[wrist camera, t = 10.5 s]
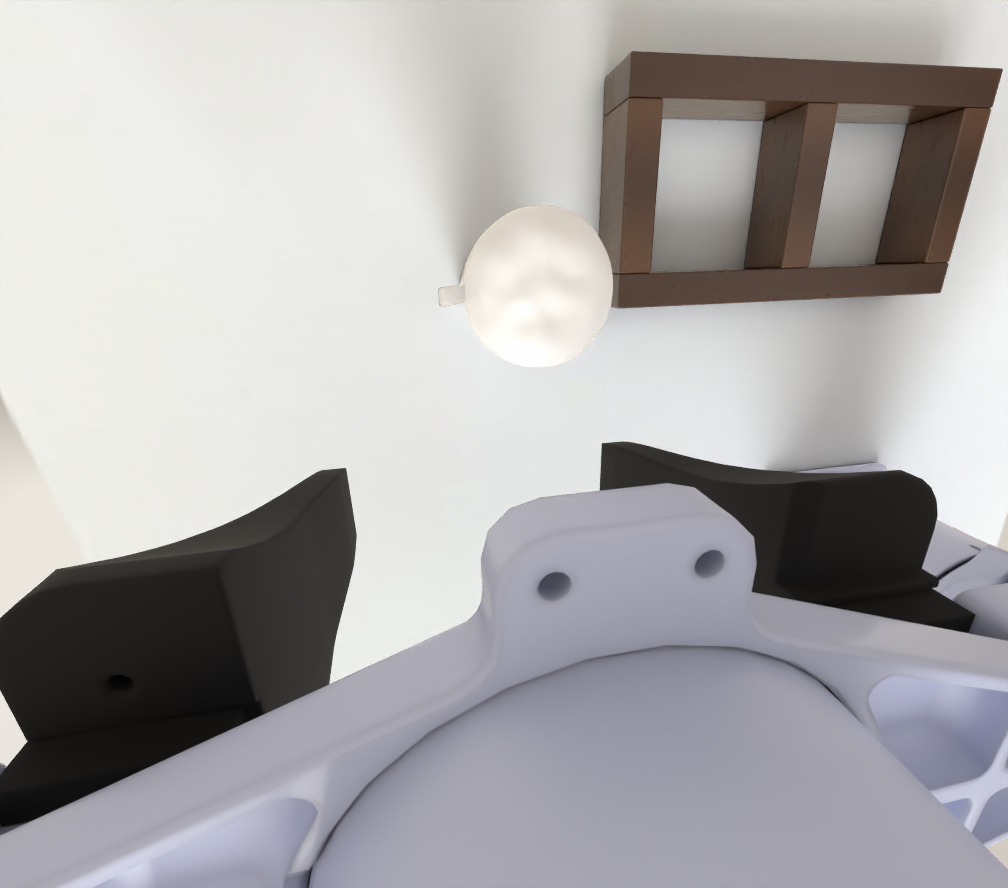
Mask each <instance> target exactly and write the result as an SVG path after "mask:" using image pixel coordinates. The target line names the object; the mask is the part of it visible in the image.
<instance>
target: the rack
mask: <svg viewBox="0 0 1008 888" xmlns="http://www.w3.org/2000/svg"><path fill="white" fill-rule="evenodd" d="M1002 71H1003V69H1000V68H978V67H957V66H936V65H914V64H893V63H872V62H850V61H829V60H808V59H786V58H765V57H744V56H722V55H701V54H680V53H658V52H637V51H632V52H631V53H630V54H629V55H628V56H627V57H626V58H625V59H624V60H623V61H622V62H621V63H620V64H619V65H618V66H617V67H616V68H615V69H614V70H613V71H612V72H611V73H610V74H609V75H608V76H607V77H606V78H605V93H604V117H605V118H604V123H603V150H602V177H601V204H600V231H599V238H600V239H601V241H602V243H603V245H604V247H605V249H606V251H607V254H608V256H609V259H610V263H611V268H612V275H613V294H612V302H611V307H614V308H640V307H661V306H682V305H704V304H725V303H746V302H767V301H788V300H809V299H831V298H852V297H873V296H894V295H915V294H937V293H940V292H941V289H942V286H943V282H944V279H945V275H946V271H947V268H948V263H946V262H949V260H950V257H951V253H952V249H953V246H954V242H955V239H956V235H957V231H958V228H959V224H960V221H961V217H962V213H963V210H964V206H965V203H966V199H967V195H968V192H969V188H970V185H971V181H972V177H973V174H974V170H975V167H976V163H977V159H978V156H979V152H980V149H981V145H982V141H983V138H984V134H985V131H986V127H987V123H988V120H989V116H990V113H991V109H990V108H991V107H992V106H993V103H994V100H995V96H996V92H997V89H998V85H999V82H1000V78H1001V74H1002ZM662 119H703V120H747V121H765V122H764V128H763V135H762V142H761V149H760V157H759V164H758V171H757V178H756V186H755V193H754V200H753V207H752V215H751V222H750V229H749V236H748V244H747V251H746V258H745V265H744V268H745V269H722V270H693V271H663V272H650V271H651V259H652V246H653V232H654V218H655V205H656V191H657V178H658V164H659V150H660V137H661V123H662ZM835 122H836V123H881V124H909V125H908V126H907V130H906V134H905V139H904V143H903V147H902V152H901V156H900V160H899V165H898V169H897V174H896V178H895V182H894V187H893V191H892V196H891V200H890V204H889V209H888V213H887V217H886V222H885V226H884V231H883V235H882V239H881V244H880V248H879V253H878V257H877V261H876V263H877V264H868V265H839V266H809V262H810V257H811V251H812V246H813V240H814V235H815V229H816V224H817V218H818V213H819V208H820V202H821V197H822V191H823V186H824V180H825V175H826V169H827V164H828V158H829V153H830V147H831V142H832V136H833V131H834V125H835ZM808 266H809V267H808Z"/></svg>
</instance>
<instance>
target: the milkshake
mask: <svg viewBox="0 0 1008 888" xmlns="http://www.w3.org/2000/svg"><path fill="white" fill-rule="evenodd" d="M438 292H439V305H440V307H444V306H449V305H454V304H458V303H463V302H464V304H465V309H466V313H467V316H468V319H469V322H470V324H471V326H472V328H473V330H474V332H475V334H476V335H477V337H478V338H479V339H480V341H481V342H482V343H483V344H484V345H485V346H486V347H487V348H488V349H489V350H490V351H492V352H493V353H494V354H495V355H497V356H498V357H500V358H502V359H503V360H505V361H507V362H510V363H512V364H515V365H519V366H524V367H551V366H556V365H559V364H563V363H565V362H568V361H570V360H572V359H574V358H575V357H577V356H579V355H580V354H581V353H582V352H584V351H585V350H586V349H587V347H588V346H589V345H590V344H591V342H592V341H593V340H594V338H595V337H596V335H597V334H598V332H599V331H600V329H601V328H602V326H603V325H604V323H605V321H606V319H607V317H608V315H609V312H610V308H611V302H612V294H613V275H612V268H611V263H610V259H609V256H608V254H607V251H606V249H605V247H604V245H603V243H602V241H601V239H600V238H599V236H598V234H597V233H596V231H595V230H594V229H593V227H592V226H591V225H590V224H589V223H588V222H587V221H586V220H585V219H583V218H582V217H580V216H579V215H577V214H576V213H574V212H571V211H569V210H566V209H563V208H559V207H553V206H526V207H521V208H518V209H515V210H513V211H511V212H509V213H507V214H506V215H504V216H503V217H501V218H500V219H498V220H497V221H496V222H495V223H493V224H492V225H491V226H490V227H489V228H488V229H487V230H486V231H485V232H484V233H483V234H482V235H481V236H480V238H479V239H478V240H477V242H476V243H475V245H474V247H473V249H472V251H471V253H470V255H469V258H468V259H467V260H466V262H465V265H464V269H463V273H462V277H461V281H460V284H459V285H457V286H448V287H440V288H439V290H438Z"/></svg>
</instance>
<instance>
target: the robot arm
mask: <svg viewBox="0 0 1008 888" xmlns="http://www.w3.org/2000/svg"><path fill="white" fill-rule="evenodd" d="M356 537H357V534H356V528H355V522H354V515H353V509H352V503H351V497H350V490H349V484H348V478H347V471H346V468H341V469H331V470H322V471H319V472H317V473H315V474H313V475H311V476H310V477H308V478H307V479H305V480H303V481H302V482H300V483H299V484H297V485H296V486H294V487H293V488H291V489H289V490H288V491H286V492H285V493H283V494H282V495H280V496H278V497H277V498H275V499H273V500H271V501H270V502H268V503H266V504H264V505H263V506H261V507H259V508H258V509H256V510H254V511H252V512H250V513H248V514H246V515H244V516H242V517H240V518H238V519H236V520H233V521H231V522H229V523H227V524H225V525H222V526H220V527H217V528H215V529H212V530H209V531H207V532H204V533H201V534H198V535H195V536H193V537H190V538H187V539H184V540H182V541H178V542H175V543H172V544H169V545H165V546H162V547H158V548H155V549H151V550H147V551H143V552H139V553H135V554H131V555H127V556H123V557H119V558H114V559H108V560H103V561H98V562H93V563H88V564H83V565H78V566H73V567H67V568H61V569H57V570H55V571H54V572H53V573H52V574H50V576H48V577H47V578H46V579H45V580H44V581H43V582H41V583H40V584H39V585H38V586H37V587H35V588H34V589H33V590H32V591H31V592H30V593H28V594H27V595H26V596H25V597H24V598H22V599H21V600H20V601H19V602H18V603H16V604H15V605H14V606H13V607H12V608H11V609H10V610H9V611H8V612H7V613H5V614H4V615H3V616H2V617H1V618H0V691H1V692H2V694H3V696H4V698H5V700H6V702H7V704H8V706H9V708H10V709H11V711H12V713H13V715H14V717H15V719H16V721H17V723H18V725H19V726H20V728H21V730H22V732H23V734H24V736H25V738H26V740H27V741H28V742H27V743H26V744H25V745H24V747H23V748H22V749H21V750H20V751H19V753H18V754H17V755H16V756H15V758H14V759H13V760H12V761H11V762H10V764H9V765H8V766H7V767H6V766H5V765H4V764H2V763H0V888H1008V869H1007V868H1006V867H1005V866H1004V865H1003V864H1002V863H1001V862H1000V861H999V860H998V859H997V858H996V857H995V856H994V855H993V854H992V853H991V852H990V851H989V850H988V849H987V848H988V847H990V846H992V845H994V844H996V843H998V842H1000V841H1002V840H1004V839H1006V838H1008V552H1007V551H1005V550H1002V549H1000V548H997V547H995V546H992V545H989V544H987V543H985V542H983V541H981V540H979V539H976V538H974V537H972V536H970V535H968V534H966V533H964V532H962V531H959V530H957V529H955V528H953V527H951V526H949V525H947V524H945V523H942V522H940V521H938V520H937V502H936V498H935V495H934V493H933V491H932V489H931V487H930V486H929V485H928V484H927V483H926V482H925V481H924V480H923V479H921V478H918V477H916V476H913V475H911V474H909V473H906V472H904V471H902V470H892V471H886V466H885V465H883V464H881V463H868V464H860V465H851V466H842V467H833V468H825V469H816V470H807V471H798V472H781V471H768V470H758V469H749V468H743V467H736V466H730V465H724V464H718V463H713V462H709V461H704V460H700V459H695V458H691V457H687V456H683V455H679V454H676V453H672V452H668V451H665V450H661V449H657V448H653V447H650V446H646V445H642V444H637V443H632V442H612V443H602V453H601V475H600V491H594V492H585V493H576V494H567V495H558V496H550V497H541V498H538V499H535V500H532V501H529V502H527V503H524V504H521V505H518V506H515V507H513V508H510V509H509V510H508V511H507V512H506V513H505V514H504V515H503V516H502V517H501V518H500V519H499V520H498V521H497V522H496V523H495V524H494V526H493V527H492V528H491V529H490V530H489V531H488V533H487V537H486V541H485V545H484V549H483V553H482V557H481V570H482V598H481V603H480V606H479V608H478V610H477V612H476V613H475V614H474V615H473V616H472V617H471V618H470V619H469V620H468V621H467V622H464V623H462V624H460V625H458V626H456V627H453V628H451V629H449V630H447V631H445V632H443V633H440V634H438V635H436V636H434V637H432V638H429V639H427V640H425V641H423V642H421V643H419V644H416V645H414V646H412V647H410V648H408V649H405V650H403V651H401V652H399V653H397V654H395V655H392V656H390V657H388V658H386V659H384V660H382V661H379V662H377V663H375V664H373V665H371V666H368V667H366V668H364V669H362V670H360V671H358V672H355V673H353V674H351V675H349V676H347V677H344V678H342V679H340V680H338V681H336V682H334V683H331V684H329V681H330V674H331V666H332V658H333V651H334V644H335V639H336V634H337V630H338V626H339V622H340V618H341V614H342V610H343V606H344V602H345V599H346V595H347V591H348V587H349V583H350V579H351V575H352V571H353V566H354V559H355V549H356Z"/></svg>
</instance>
